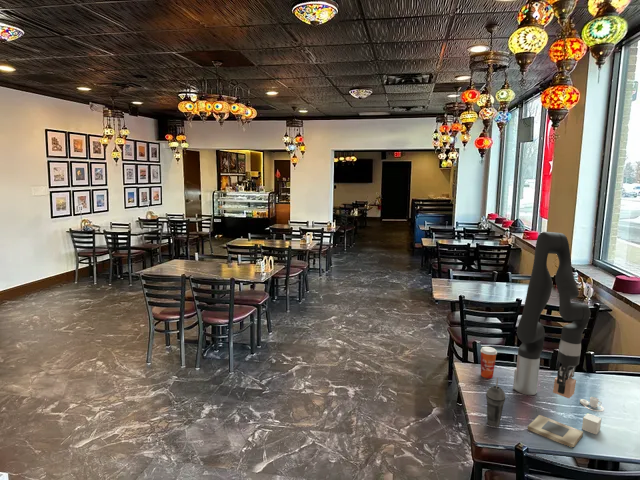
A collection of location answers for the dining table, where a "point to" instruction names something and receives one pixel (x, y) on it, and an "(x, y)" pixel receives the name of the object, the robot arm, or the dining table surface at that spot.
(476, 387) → the dining table surface
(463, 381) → the dining table surface
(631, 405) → the dining table surface
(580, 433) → the beige rectangular frame
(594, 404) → the teacup and saucer
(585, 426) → the white cube
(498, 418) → the beverage cup
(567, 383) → the terracotta cube
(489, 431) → the dining table surface
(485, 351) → the paper cup
